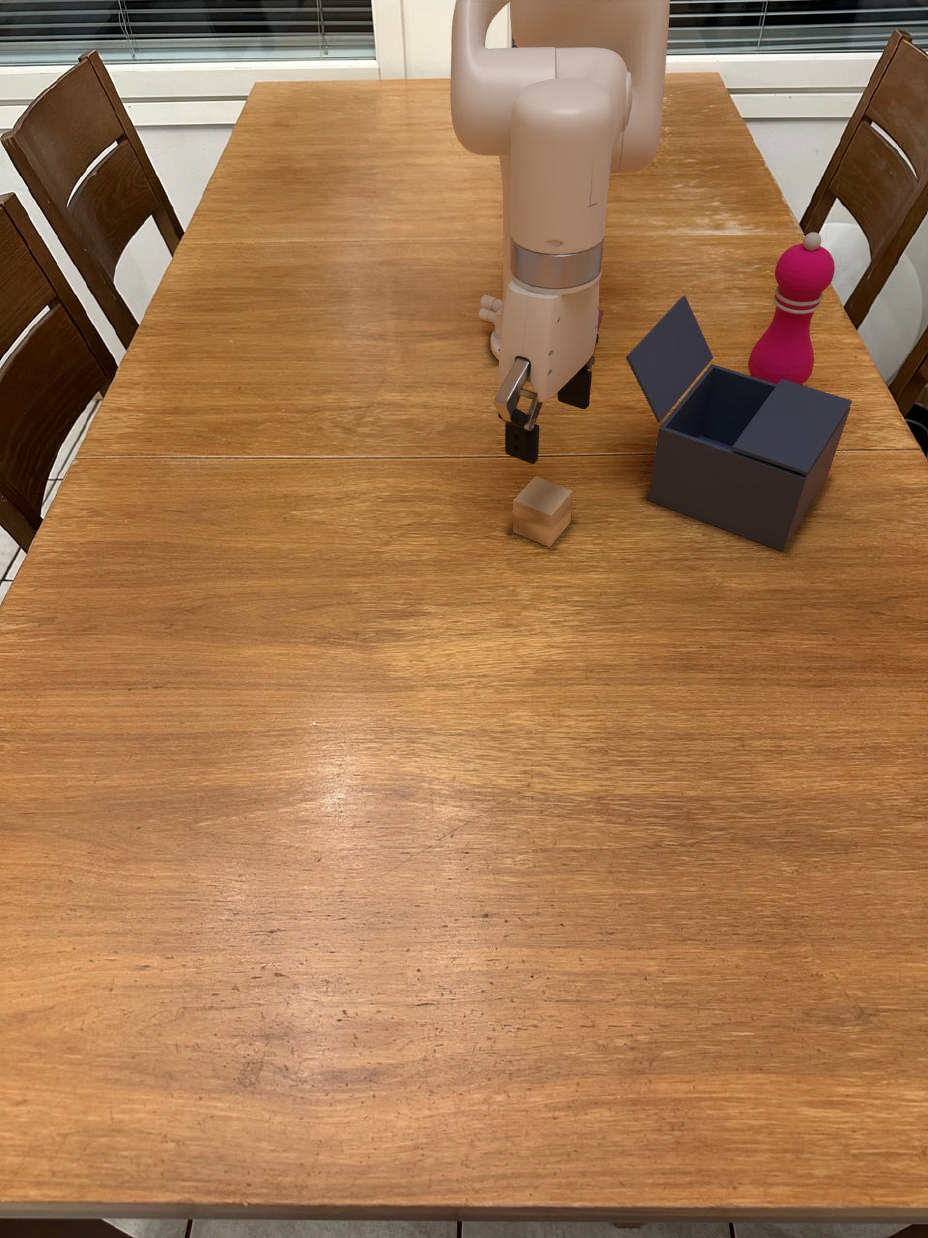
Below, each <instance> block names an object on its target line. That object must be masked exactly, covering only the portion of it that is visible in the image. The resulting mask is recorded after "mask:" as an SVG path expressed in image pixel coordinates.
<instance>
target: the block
mask: <svg viewBox="0 0 928 1238" xmlns="http://www.w3.org/2000/svg"><path fill="white" fill-rule="evenodd" d="M573 492H574V491H573V490H572V489H570V488H567V487H564V486H562V485H560V484H558V483H557V484H556V483H555V482H551V481H548V480H547V479H545V478H541V477H539V476H537V475H535V476H534V477H533V478H531V480H530V481H529V482H528V484H527V485H525V487H524V488H523V489H522V490H521V491H520V492H519V494H517V496H516V497H515V498H514V499H513V502H512V503H513V505H512V506H513V507H512V533H514V534H516V535H519V536H521V537H523V538H526V539H528V540H531V541H532V542H533V541H534V542H536V543H538V544H541V545H543V546H545V547H548V548H551V546H552V545H553V544H554V543H555V542H556V540H557V539H558V538H559V537H560V536H561V535H562V533H563V532H564V531H565V529H567V527H568V526H569V525H570V524H571V517H572V507H573V495H574V494H573Z"/></svg>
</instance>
